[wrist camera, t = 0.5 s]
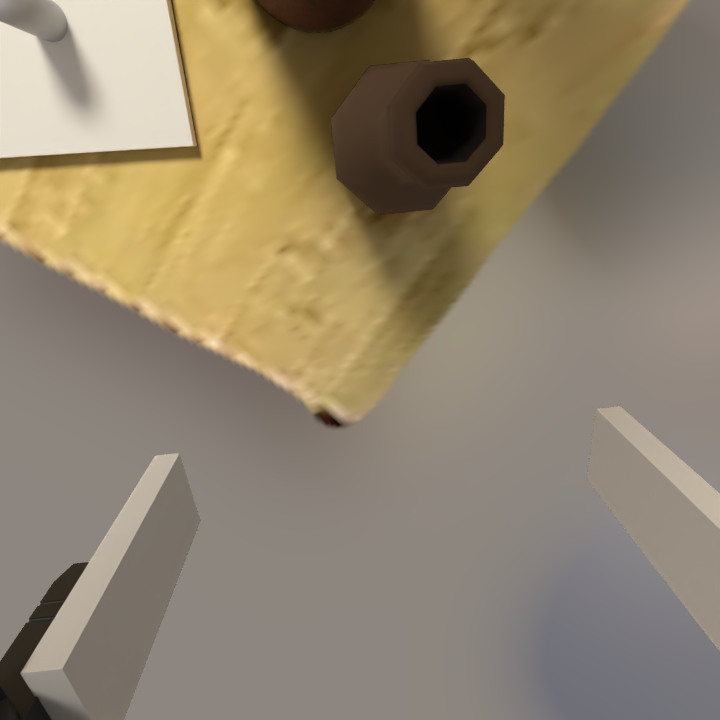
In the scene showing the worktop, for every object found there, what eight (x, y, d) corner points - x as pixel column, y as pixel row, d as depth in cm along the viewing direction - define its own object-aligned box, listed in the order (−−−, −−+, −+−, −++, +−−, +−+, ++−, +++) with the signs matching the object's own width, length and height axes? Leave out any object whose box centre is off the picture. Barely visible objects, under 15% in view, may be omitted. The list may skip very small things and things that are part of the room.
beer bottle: (360, 219, 37) (391, 301, 15) (312, 125, 34) (265, 56, 12) (447, 172, 36) (617, 184, 14) (405, 69, 33) (535, -115, 11)
